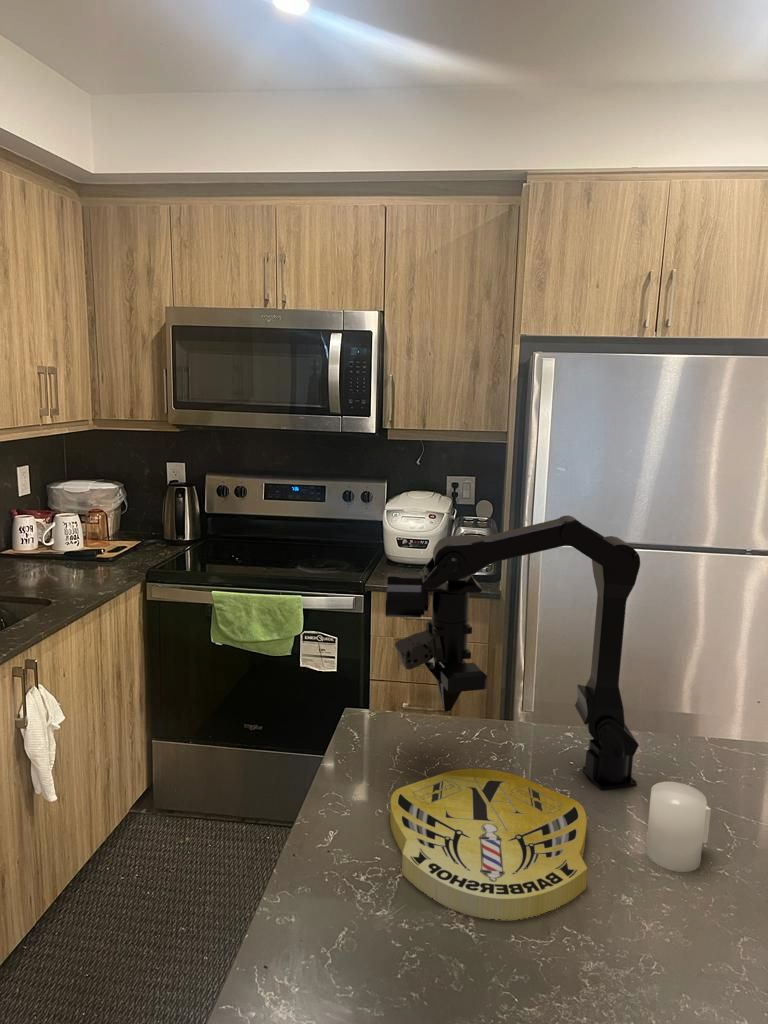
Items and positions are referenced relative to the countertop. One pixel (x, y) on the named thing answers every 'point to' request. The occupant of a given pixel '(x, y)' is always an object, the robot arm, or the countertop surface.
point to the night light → (677, 826)
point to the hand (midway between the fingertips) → (446, 710)
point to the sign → (490, 843)
